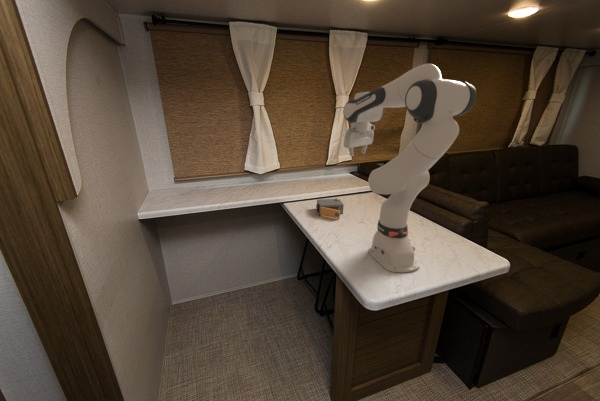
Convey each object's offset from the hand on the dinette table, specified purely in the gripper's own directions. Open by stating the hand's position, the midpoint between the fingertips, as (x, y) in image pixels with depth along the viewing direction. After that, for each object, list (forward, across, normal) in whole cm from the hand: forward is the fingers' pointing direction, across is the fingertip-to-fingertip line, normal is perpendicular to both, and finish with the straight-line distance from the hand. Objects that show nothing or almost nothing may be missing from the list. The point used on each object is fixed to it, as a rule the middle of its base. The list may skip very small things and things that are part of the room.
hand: (357, 154), depth 133 cm
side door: (+37, -9, +9) cm, 39 cm away
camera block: (+37, -2, +16) cm, 40 cm away
